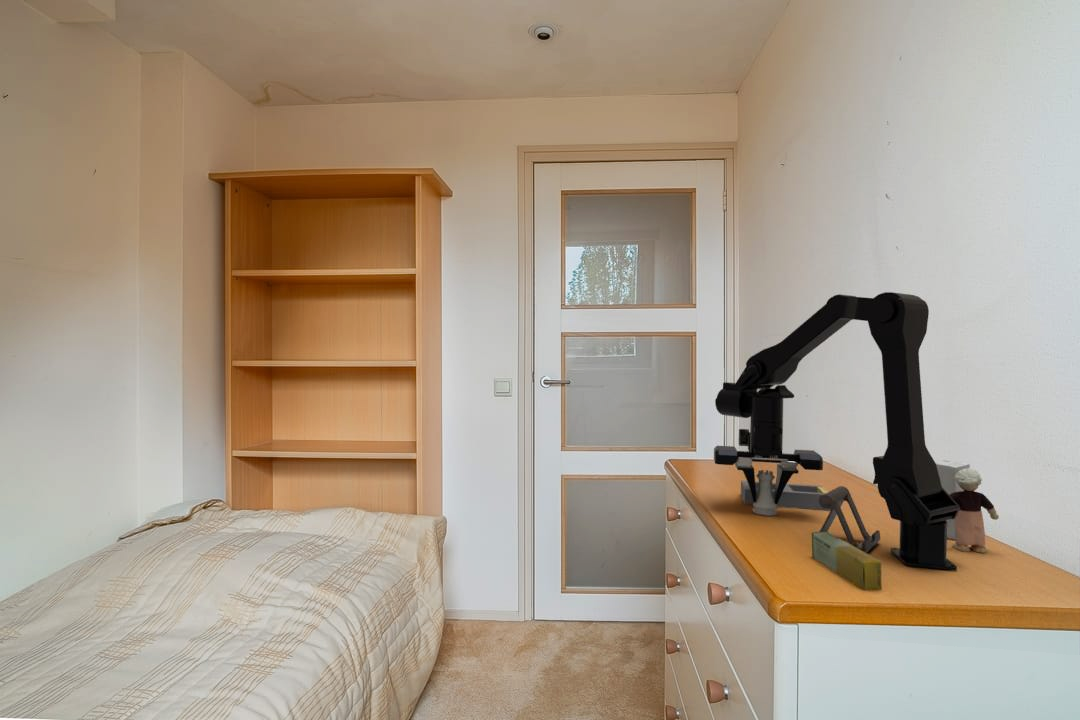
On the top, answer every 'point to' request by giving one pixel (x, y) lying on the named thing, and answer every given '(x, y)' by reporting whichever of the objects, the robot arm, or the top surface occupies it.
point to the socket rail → (791, 495)
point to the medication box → (847, 560)
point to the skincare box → (950, 485)
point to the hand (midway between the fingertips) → (765, 502)
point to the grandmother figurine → (970, 512)
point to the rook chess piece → (765, 495)
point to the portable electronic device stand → (834, 503)
